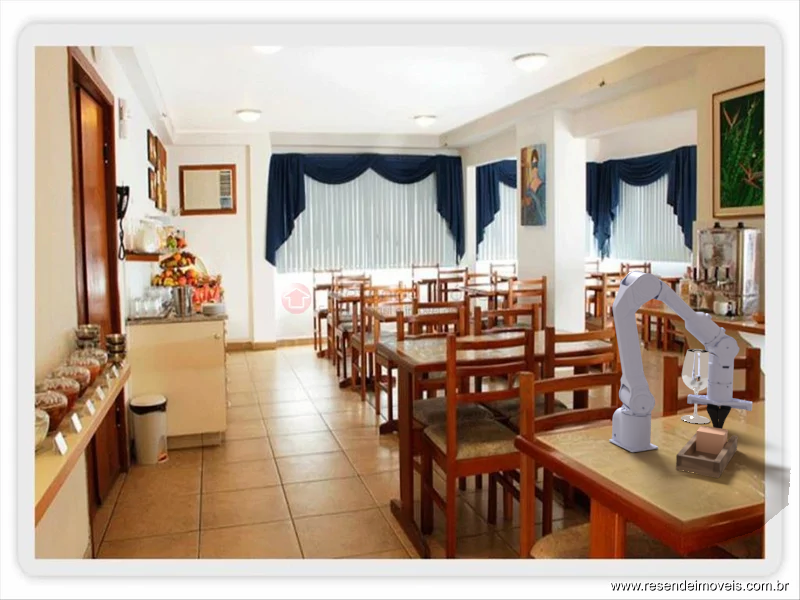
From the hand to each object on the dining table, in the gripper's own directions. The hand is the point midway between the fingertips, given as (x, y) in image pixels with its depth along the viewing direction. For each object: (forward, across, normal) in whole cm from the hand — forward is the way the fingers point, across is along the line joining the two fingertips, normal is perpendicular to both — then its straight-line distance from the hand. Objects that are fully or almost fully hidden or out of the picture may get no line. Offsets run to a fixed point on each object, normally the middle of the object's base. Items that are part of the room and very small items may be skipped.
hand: (717, 434), depth 169 cm
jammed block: (+2, 0, -7) cm, 8 cm away
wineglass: (+3, -8, +21) cm, 23 cm away
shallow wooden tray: (+3, -1, -11) cm, 12 cm away
